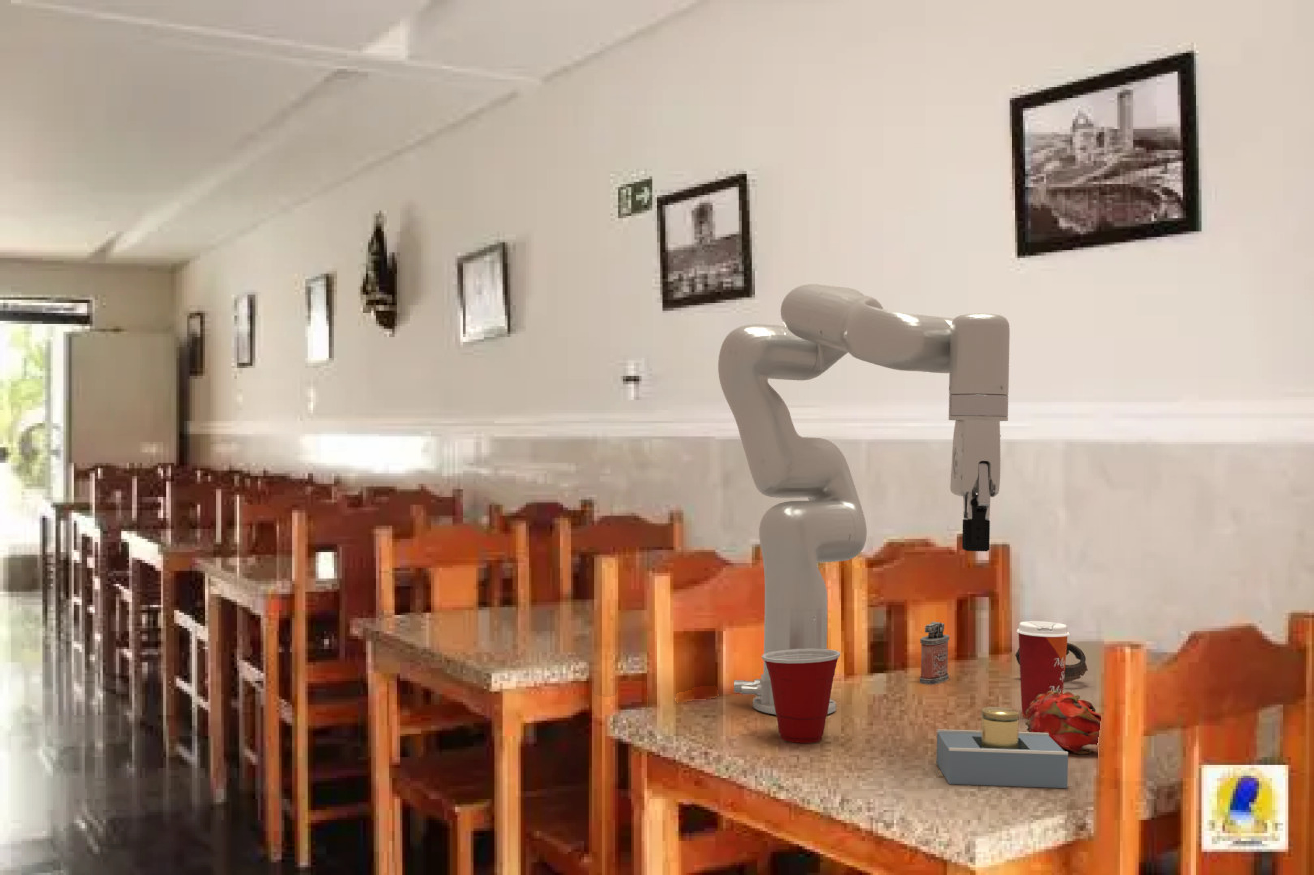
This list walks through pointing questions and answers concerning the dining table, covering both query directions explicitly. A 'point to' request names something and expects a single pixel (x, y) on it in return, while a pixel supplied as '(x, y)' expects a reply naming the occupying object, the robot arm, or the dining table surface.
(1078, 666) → the pottery mug
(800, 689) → the plastic cup
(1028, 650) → the paper cup
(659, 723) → the dining table surface
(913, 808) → the dining table surface
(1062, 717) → the dragon fruit
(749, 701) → the dining table surface
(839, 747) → the dining table surface
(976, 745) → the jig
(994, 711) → the brass flanged cylinder
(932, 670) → the lighter
